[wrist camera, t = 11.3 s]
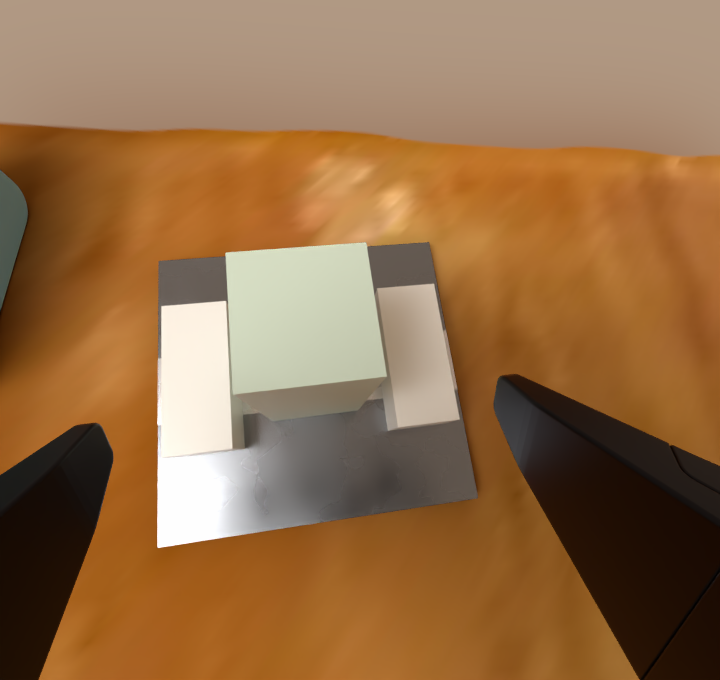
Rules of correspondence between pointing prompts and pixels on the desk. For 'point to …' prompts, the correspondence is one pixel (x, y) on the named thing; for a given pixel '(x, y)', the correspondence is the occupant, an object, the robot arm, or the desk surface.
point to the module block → (303, 330)
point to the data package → (10, 228)
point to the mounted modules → (225, 411)
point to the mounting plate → (308, 440)
